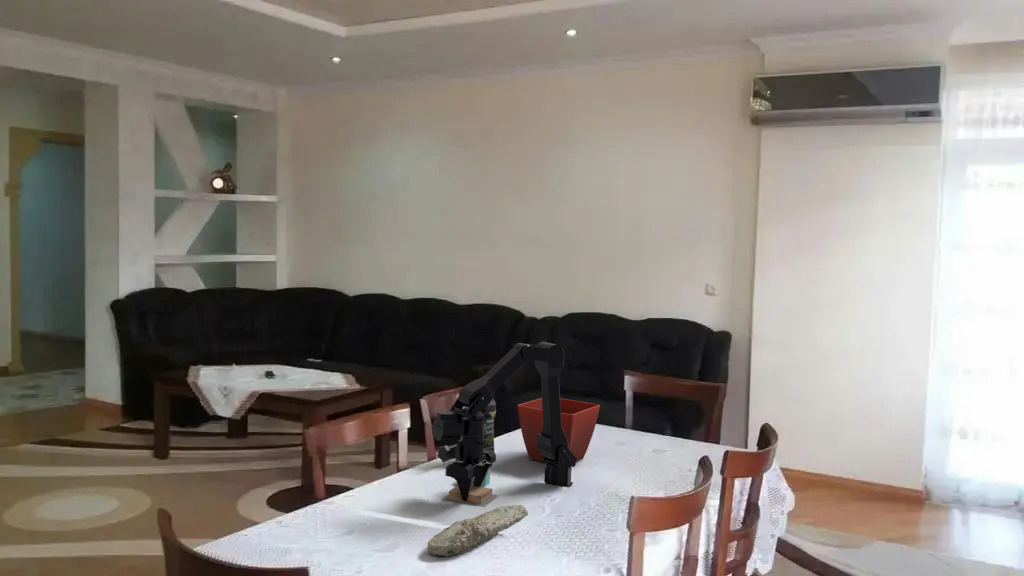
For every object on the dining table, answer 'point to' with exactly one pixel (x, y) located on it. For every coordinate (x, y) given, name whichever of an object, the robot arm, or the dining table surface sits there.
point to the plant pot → (574, 422)
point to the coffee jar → (489, 426)
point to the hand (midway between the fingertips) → (470, 496)
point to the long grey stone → (475, 530)
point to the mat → (472, 503)
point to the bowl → (486, 480)
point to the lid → (472, 494)
